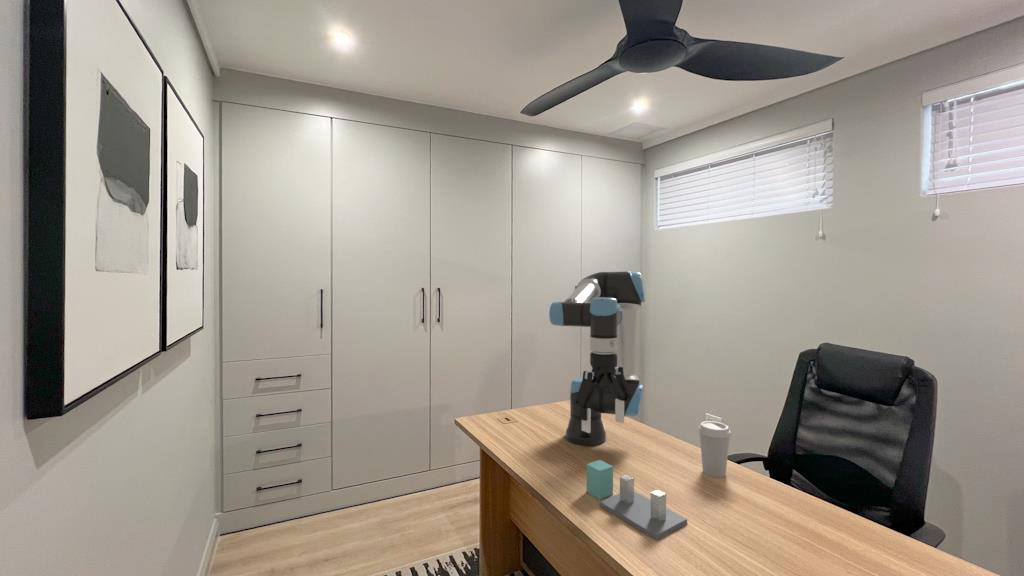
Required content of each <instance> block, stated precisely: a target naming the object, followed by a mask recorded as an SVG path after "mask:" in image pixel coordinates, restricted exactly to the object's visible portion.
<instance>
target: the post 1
mask: <svg viewBox="0 0 1024 576" xmlns="http://www.w3.org/2000/svg"><path fill="white" fill-rule="evenodd" d="M634 492H635V478H634V477H632V476H630V475H628V474H624V475H621V476H619V494H620V501H621V502H623V503H624V504H626V505H629V504H631V503H633V502H634Z"/></svg>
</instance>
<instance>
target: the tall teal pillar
mask: <svg viewBox="0 0 1024 576" xmlns="http://www.w3.org/2000/svg"><path fill="white" fill-rule="evenodd" d="M586 493H588V494H589V495H590V496H592V497H595V498H596V499H598V500H602V499H603V500H604V499H606V498H607V497H608V498H609V497H610V496H612V495H613V496H614V466H613V465H611V464H609V463H607V462H605V461H603V460H601V459H598V460H594V461H591V462H589V463H586Z"/></svg>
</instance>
